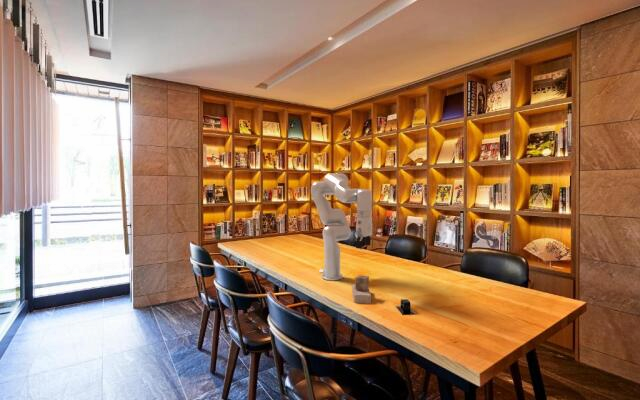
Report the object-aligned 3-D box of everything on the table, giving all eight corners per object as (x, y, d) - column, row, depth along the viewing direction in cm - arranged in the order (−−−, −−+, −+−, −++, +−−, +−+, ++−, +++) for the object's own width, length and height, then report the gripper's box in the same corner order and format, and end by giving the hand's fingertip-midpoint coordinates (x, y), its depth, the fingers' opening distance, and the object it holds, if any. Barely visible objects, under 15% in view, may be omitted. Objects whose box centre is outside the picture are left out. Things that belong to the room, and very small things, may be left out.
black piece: (392, 306, 152) (392, 295, 152) (409, 305, 152) (409, 295, 152) (401, 317, 139) (401, 306, 138) (419, 317, 139) (419, 305, 139)
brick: (371, 304, 154) (371, 294, 154) (353, 304, 155) (353, 294, 155) (368, 292, 171) (367, 283, 171) (352, 292, 171) (351, 283, 171)
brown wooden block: (355, 289, 162) (355, 277, 162) (359, 286, 166) (359, 275, 166) (364, 291, 159) (364, 278, 159) (368, 288, 164) (368, 276, 163)
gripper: (363, 216, 159) (362, 250, 160) (377, 212, 173) (377, 244, 175) (349, 214, 163) (348, 248, 164) (364, 211, 177) (364, 242, 179)
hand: (363, 246), depth 169 cm, fingers open, 9 cm apart
